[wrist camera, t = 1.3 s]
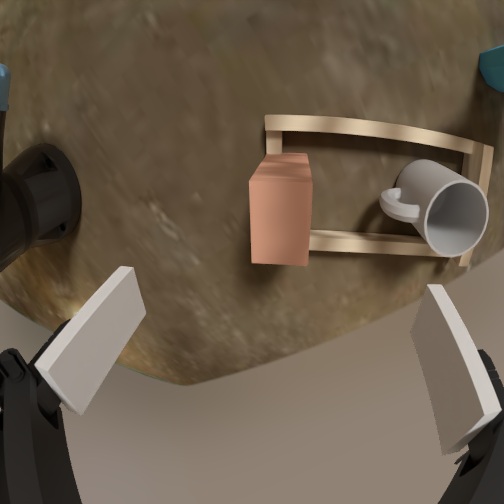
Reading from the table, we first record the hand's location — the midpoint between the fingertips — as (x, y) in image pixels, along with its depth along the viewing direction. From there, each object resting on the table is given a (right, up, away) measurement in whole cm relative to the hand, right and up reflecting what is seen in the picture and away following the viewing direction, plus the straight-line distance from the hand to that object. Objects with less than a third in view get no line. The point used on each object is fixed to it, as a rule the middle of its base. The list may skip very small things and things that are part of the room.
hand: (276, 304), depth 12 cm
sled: (+13, +9, +16) cm, 22 cm away
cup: (+17, +9, +16) cm, 25 cm away
